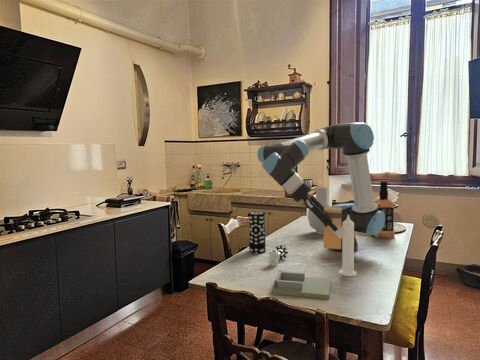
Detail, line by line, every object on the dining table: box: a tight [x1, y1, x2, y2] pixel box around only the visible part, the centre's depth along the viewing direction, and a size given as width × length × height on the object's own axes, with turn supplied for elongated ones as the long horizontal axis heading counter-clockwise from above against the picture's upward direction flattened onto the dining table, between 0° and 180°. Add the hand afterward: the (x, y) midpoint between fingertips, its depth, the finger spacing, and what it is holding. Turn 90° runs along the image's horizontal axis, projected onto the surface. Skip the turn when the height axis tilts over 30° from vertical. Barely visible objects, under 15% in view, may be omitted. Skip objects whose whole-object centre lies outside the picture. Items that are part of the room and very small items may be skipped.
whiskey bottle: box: [373, 180, 396, 239], centre depth 199 cm, size 10×10×32 cm
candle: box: [338, 215, 358, 278], centre depth 143 cm, size 7×7×25 cm
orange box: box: [323, 207, 342, 249], centre depth 125 cm, size 6×5×14 cm
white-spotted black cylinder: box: [248, 210, 267, 255], centre depth 176 cm, size 8×8×20 cm
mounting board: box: [272, 270, 331, 300], centre depth 131 cm, size 20×15×4 cm
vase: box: [307, 186, 333, 236], centre depth 208 cm, size 17×16×28 cm
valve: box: [268, 244, 289, 267], centre depth 160 cm, size 7×7×12 cm
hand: (342, 234), depth 124 cm, fingers closed on orange box, 5 cm apart
